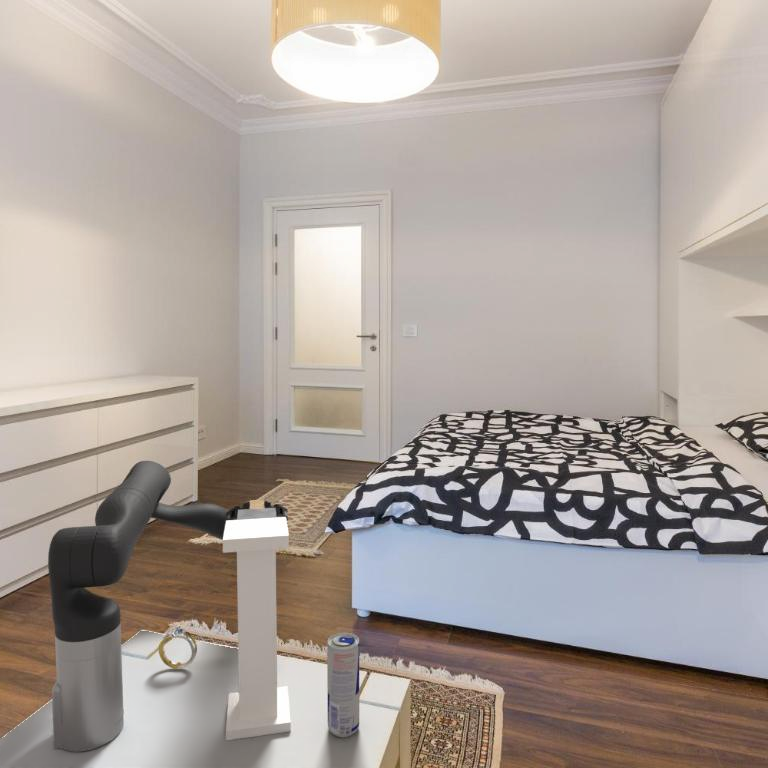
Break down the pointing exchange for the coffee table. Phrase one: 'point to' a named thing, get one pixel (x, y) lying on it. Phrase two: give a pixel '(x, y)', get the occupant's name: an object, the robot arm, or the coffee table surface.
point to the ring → (177, 634)
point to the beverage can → (343, 684)
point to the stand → (257, 629)
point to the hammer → (256, 511)
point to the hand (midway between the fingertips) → (256, 505)
